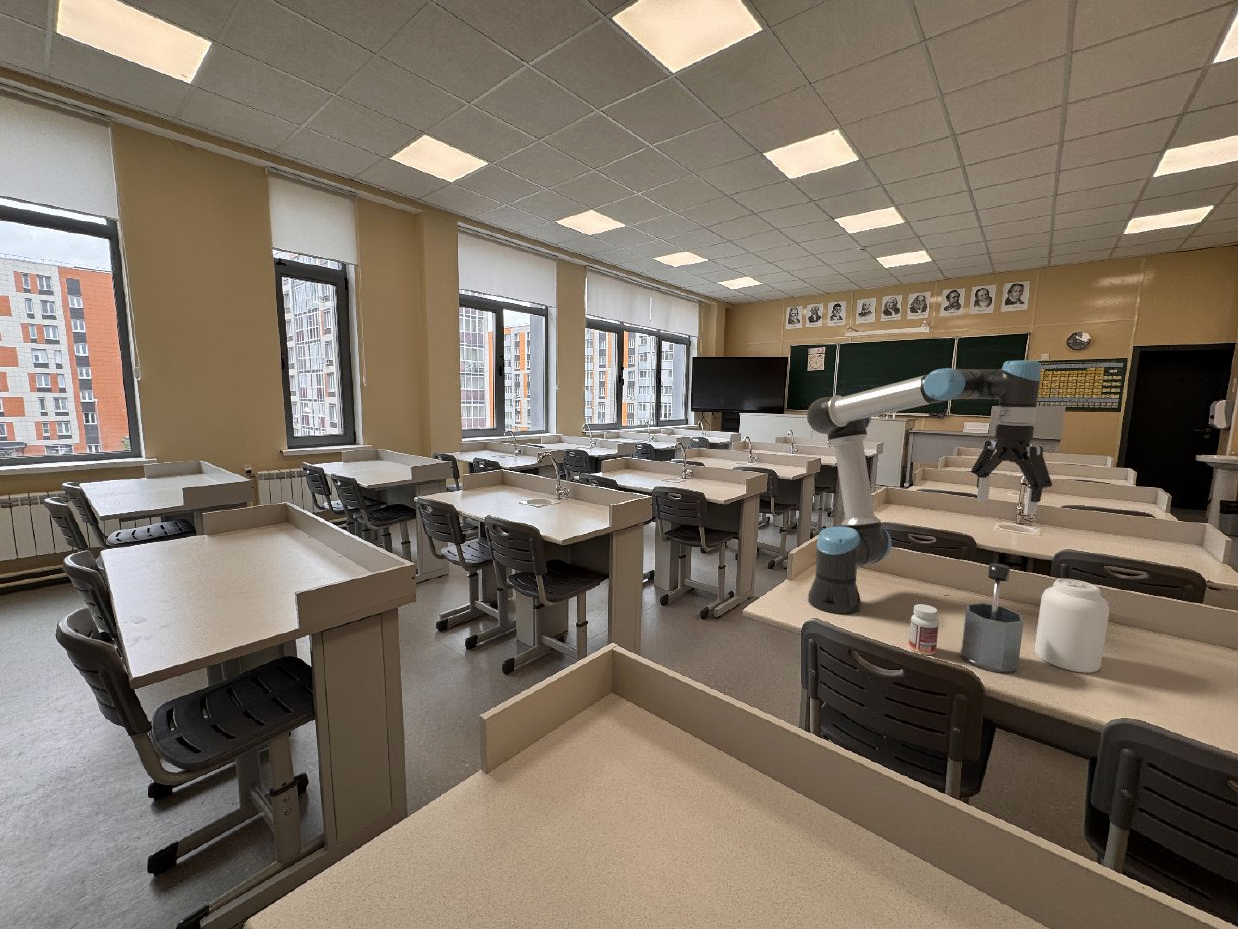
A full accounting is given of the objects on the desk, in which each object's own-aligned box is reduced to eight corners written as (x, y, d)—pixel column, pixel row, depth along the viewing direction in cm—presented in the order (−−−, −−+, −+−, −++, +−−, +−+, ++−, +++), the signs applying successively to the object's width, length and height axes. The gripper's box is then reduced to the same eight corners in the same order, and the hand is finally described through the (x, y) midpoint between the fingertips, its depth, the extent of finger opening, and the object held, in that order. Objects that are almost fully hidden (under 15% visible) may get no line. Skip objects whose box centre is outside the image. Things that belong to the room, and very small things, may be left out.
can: (1031, 661, 129) (1041, 584, 126) (1036, 642, 138) (1046, 570, 135) (1099, 680, 121) (1112, 598, 118) (1100, 659, 130) (1112, 583, 127)
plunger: (960, 648, 132) (969, 561, 129) (987, 644, 134) (998, 559, 131) (990, 665, 124) (1001, 573, 121) (1018, 661, 126) (1030, 571, 122)
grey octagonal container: (949, 651, 134) (954, 605, 132) (994, 645, 137) (999, 600, 135) (989, 675, 123) (995, 625, 121) (1038, 669, 126) (1044, 620, 124)
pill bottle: (940, 651, 134) (944, 609, 132) (928, 658, 130) (932, 615, 129) (916, 641, 139) (919, 601, 137) (903, 648, 135) (907, 606, 134)
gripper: (961, 420, 141) (953, 497, 144) (1051, 428, 116) (1039, 521, 120) (985, 420, 142) (976, 496, 145) (1079, 428, 118) (1066, 519, 121)
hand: (1004, 507), depth 133 cm, fingers open, 13 cm apart
